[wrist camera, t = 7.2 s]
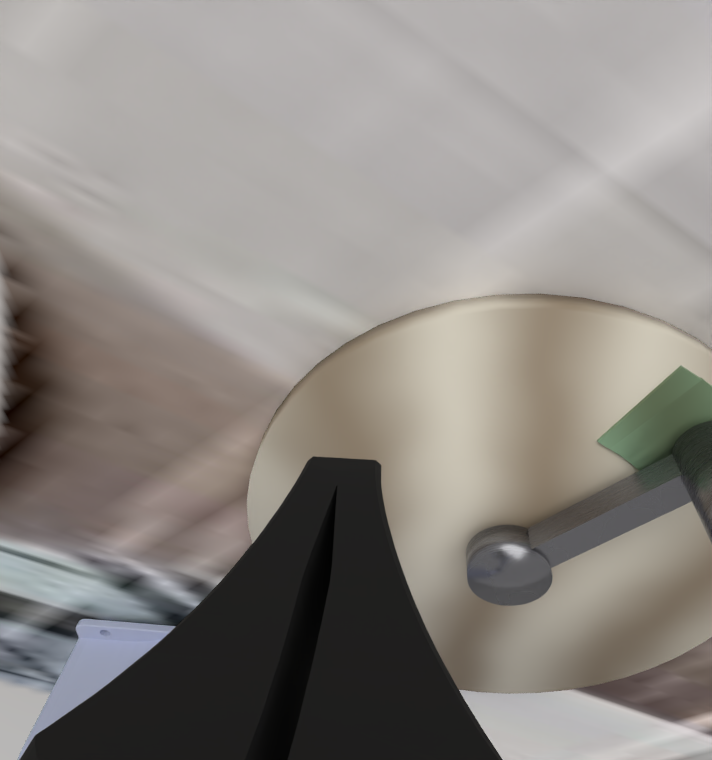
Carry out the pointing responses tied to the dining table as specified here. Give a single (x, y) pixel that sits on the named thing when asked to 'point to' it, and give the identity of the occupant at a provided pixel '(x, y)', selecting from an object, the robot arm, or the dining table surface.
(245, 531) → the dining table surface
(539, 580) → the lever
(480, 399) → the dial board
